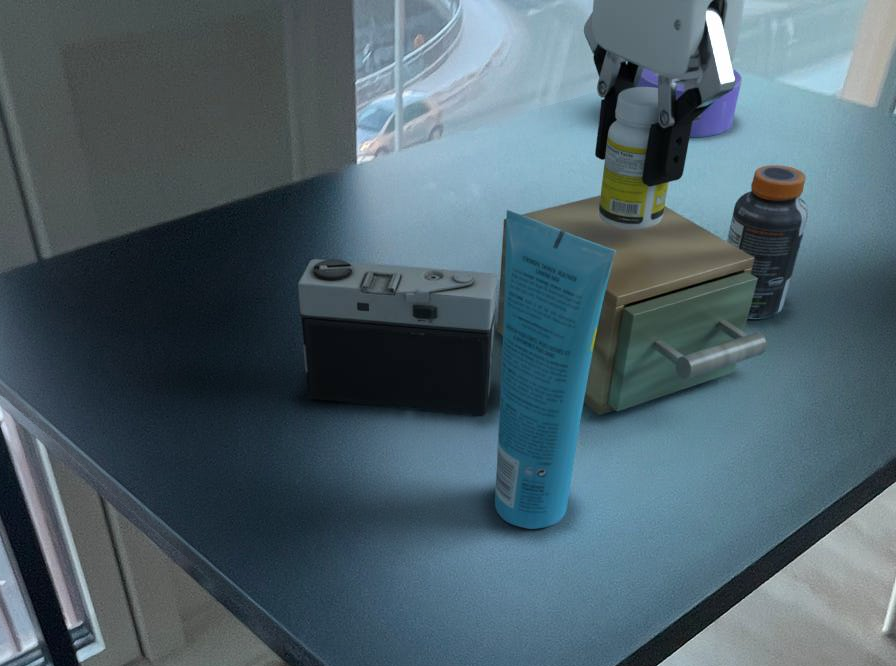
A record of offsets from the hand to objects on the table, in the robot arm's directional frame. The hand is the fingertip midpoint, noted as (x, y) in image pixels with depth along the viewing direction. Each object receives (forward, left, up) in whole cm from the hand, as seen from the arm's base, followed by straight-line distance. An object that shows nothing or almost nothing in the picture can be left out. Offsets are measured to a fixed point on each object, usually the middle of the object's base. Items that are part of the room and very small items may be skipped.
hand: (637, 165), depth 73 cm
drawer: (0, +4, -14) cm, 15 cm away
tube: (+17, +14, -15) cm, 27 cm away
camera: (+17, -4, -15) cm, 23 cm away
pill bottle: (-15, -1, -15) cm, 22 cm away
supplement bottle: (0, 0, -4) cm, 4 cm away
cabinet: (0, 0, -15) cm, 15 cm away
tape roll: (-40, -39, -15) cm, 58 cm away
